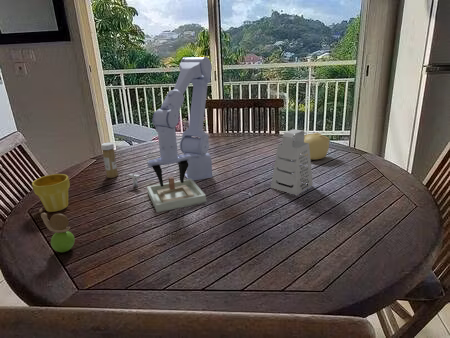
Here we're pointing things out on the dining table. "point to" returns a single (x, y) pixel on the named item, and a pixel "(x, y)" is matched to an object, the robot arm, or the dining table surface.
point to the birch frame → (173, 189)
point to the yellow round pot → (317, 145)
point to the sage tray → (159, 206)
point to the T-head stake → (134, 179)
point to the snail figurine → (59, 232)
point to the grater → (292, 163)
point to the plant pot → (52, 191)
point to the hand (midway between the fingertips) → (171, 183)
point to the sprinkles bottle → (109, 159)
